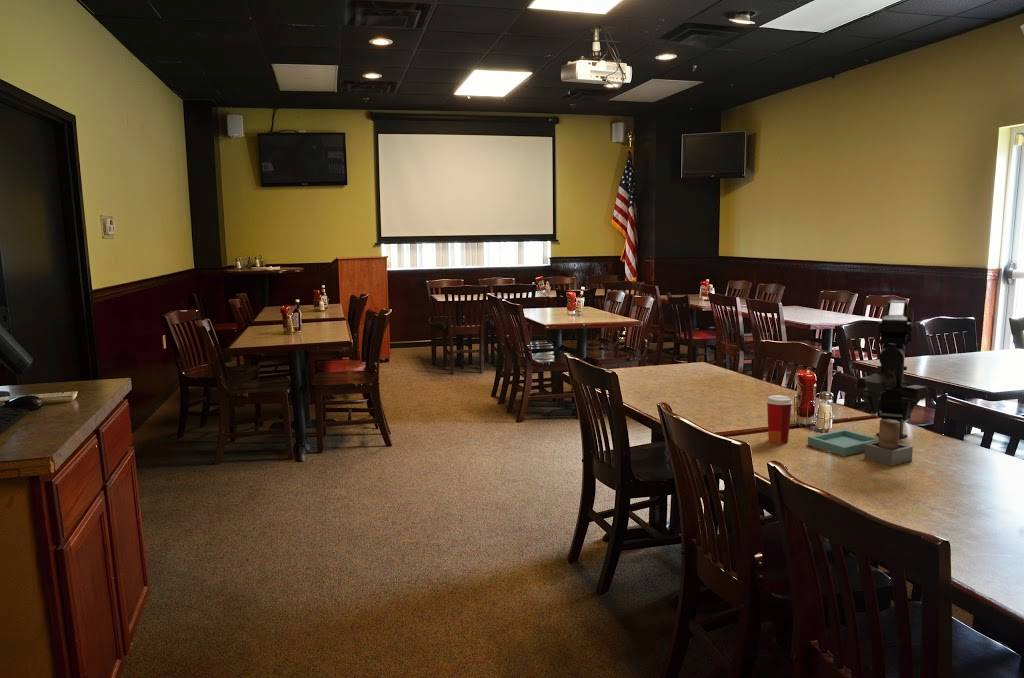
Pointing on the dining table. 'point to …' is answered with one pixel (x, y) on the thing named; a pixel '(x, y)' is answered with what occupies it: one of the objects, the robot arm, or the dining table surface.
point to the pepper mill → (889, 434)
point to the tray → (841, 442)
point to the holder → (888, 453)
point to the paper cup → (778, 418)
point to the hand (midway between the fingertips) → (889, 417)
